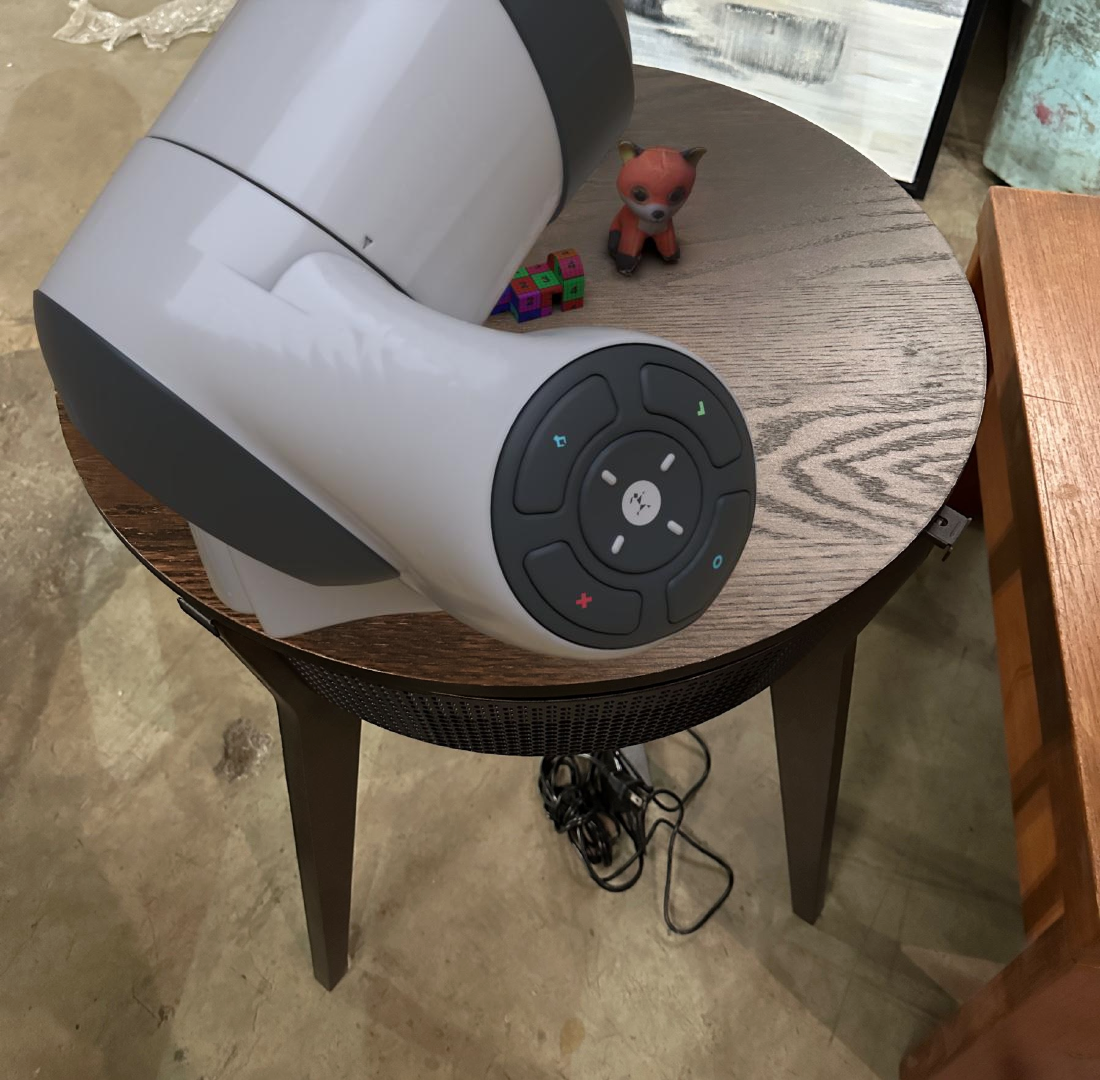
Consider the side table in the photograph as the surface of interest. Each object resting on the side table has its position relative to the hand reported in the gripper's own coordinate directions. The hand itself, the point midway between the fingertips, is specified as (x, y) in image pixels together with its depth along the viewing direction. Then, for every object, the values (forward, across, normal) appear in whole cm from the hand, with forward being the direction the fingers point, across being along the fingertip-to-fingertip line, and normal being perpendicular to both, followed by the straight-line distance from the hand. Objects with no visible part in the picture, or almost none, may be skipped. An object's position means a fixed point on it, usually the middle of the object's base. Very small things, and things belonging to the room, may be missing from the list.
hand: (403, 472), depth 51 cm
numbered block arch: (+39, -22, -8) cm, 46 cm away
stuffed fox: (+41, -35, -10) cm, 55 cm away
